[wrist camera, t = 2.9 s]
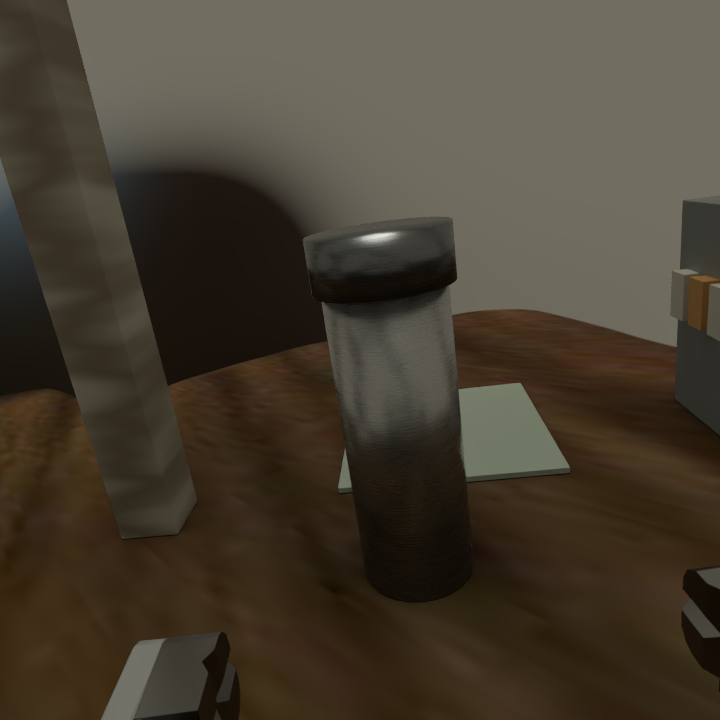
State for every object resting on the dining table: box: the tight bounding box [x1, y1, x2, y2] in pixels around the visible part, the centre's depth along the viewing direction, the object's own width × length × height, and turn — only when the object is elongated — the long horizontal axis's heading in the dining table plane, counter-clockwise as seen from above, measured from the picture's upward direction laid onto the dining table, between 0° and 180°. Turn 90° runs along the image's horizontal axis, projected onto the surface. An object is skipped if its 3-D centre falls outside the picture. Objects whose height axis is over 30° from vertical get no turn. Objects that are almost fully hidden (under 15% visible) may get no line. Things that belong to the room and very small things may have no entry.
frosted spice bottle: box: [303, 217, 474, 602], centre depth 22 cm, size 5×5×14 cm
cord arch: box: [0, 0, 197, 539], centre depth 23 cm, size 36×3×36 cm, turn 87°
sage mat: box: [338, 383, 570, 493], centre depth 35 cm, size 12×12×1 cm
